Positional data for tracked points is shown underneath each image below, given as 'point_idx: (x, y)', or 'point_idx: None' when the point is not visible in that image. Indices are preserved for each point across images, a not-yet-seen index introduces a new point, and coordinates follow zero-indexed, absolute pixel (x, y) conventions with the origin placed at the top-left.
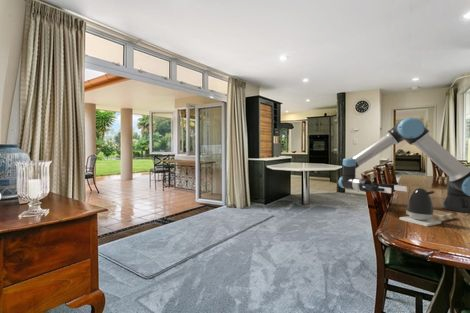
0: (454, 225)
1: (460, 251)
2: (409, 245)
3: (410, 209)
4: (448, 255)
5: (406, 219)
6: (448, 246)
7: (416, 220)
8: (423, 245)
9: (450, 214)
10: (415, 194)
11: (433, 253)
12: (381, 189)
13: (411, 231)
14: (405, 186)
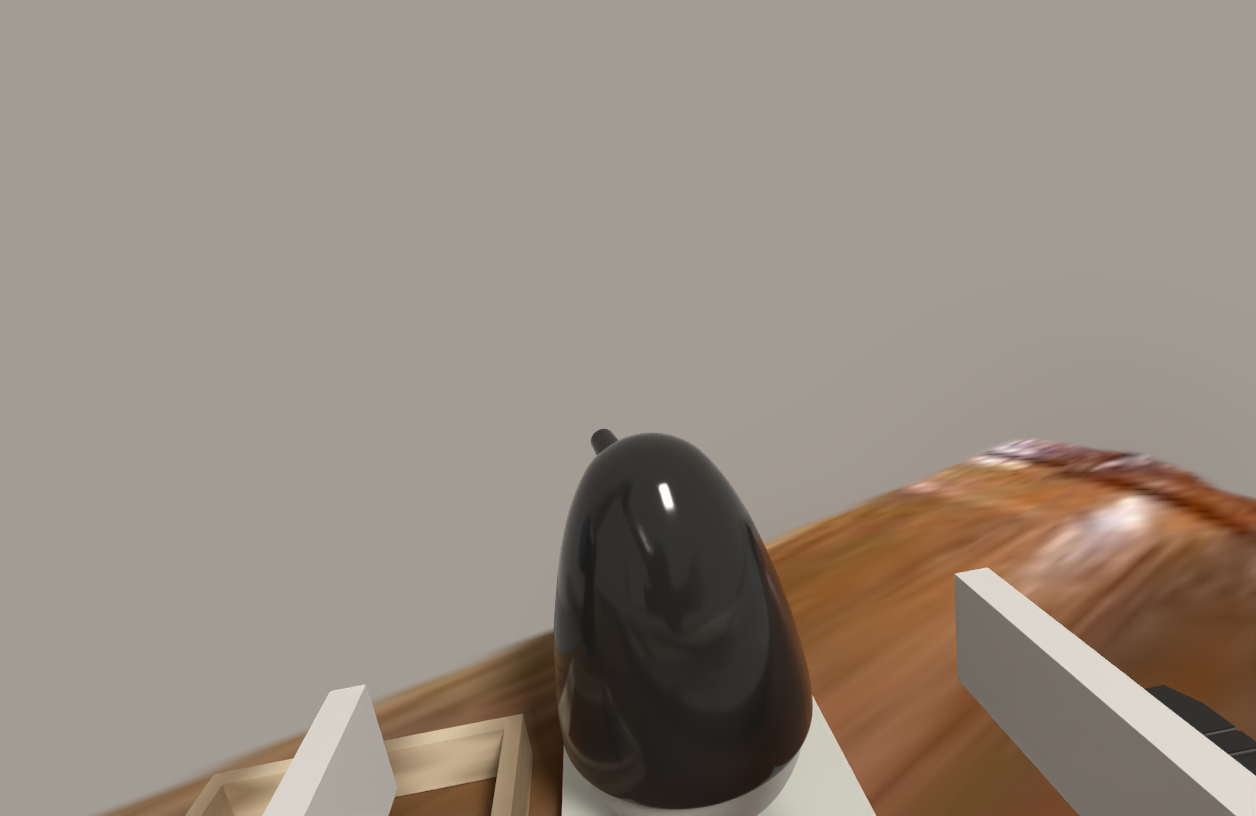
0: (534, 675)
1: (960, 471)
2: (1191, 492)
3: (809, 681)
4: (1048, 454)
5: (864, 797)
6: (970, 491)
7: None
8: (1102, 493)
9: (280, 762)
10: (740, 500)
11: (1106, 458)
12: (1212, 735)
13: None
14: (349, 706)
